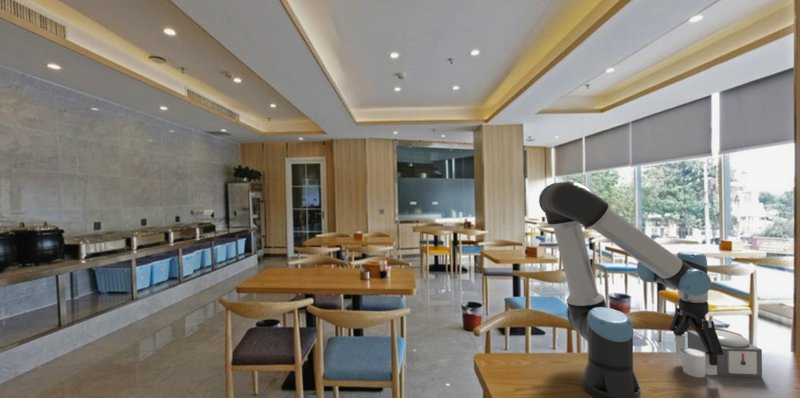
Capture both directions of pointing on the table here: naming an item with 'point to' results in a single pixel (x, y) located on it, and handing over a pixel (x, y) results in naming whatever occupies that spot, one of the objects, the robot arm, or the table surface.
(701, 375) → the shot glass
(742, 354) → the dial scale
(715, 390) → the table surface
